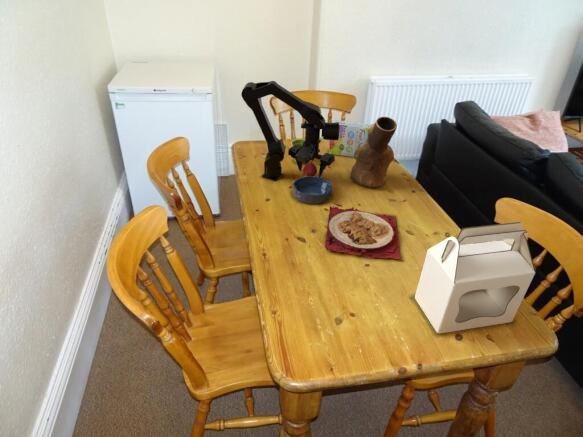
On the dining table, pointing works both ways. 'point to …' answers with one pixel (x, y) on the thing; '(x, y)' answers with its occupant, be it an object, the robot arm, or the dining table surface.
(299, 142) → the plant pot
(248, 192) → the dining table surface
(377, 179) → the ceramic vessel
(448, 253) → the gable box
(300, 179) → the bowl
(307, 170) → the onion
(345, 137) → the snack box
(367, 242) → the plate with food
